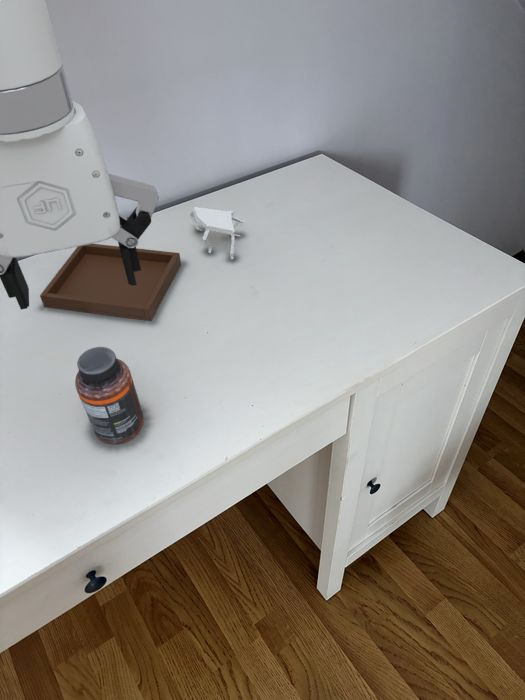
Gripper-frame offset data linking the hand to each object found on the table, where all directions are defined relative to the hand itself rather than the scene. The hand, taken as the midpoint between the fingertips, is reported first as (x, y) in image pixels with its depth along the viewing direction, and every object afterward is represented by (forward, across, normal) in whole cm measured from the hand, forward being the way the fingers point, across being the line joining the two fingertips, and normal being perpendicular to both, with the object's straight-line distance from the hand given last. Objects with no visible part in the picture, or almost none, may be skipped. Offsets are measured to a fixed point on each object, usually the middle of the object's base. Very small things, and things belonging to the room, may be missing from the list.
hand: (79, 288), depth 52 cm
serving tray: (+21, +2, +27) cm, 34 cm away
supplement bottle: (+21, -1, 0) cm, 21 cm away
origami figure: (+21, +20, +33) cm, 44 cm away
